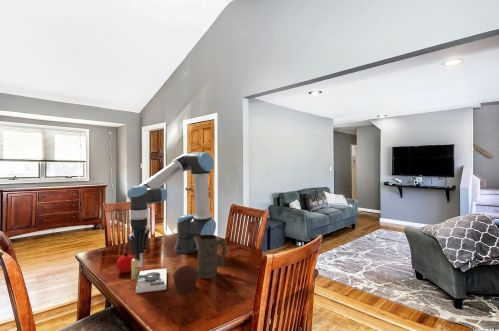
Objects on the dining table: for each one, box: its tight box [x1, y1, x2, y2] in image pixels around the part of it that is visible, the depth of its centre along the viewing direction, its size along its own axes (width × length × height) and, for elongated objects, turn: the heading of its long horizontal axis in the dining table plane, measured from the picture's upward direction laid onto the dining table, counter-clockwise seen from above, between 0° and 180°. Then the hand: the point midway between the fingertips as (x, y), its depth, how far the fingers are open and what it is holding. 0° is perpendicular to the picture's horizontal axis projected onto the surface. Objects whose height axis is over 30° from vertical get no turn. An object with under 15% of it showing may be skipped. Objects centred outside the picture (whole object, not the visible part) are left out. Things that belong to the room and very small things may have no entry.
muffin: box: [172, 265, 199, 295], centre depth 123 cm, size 12×11×10 cm
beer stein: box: [196, 234, 228, 279], centre depth 140 cm, size 15×11×20 cm
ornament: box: [116, 252, 135, 274], centre depth 141 cm, size 9×9×10 cm
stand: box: [135, 268, 168, 294], centre depth 130 cm, size 13×20×4 cm, turn 17°
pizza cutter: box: [130, 257, 160, 282], centre depth 127 cm, size 13×7×10 cm, turn 104°
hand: (139, 266), depth 129 cm, fingers closed
